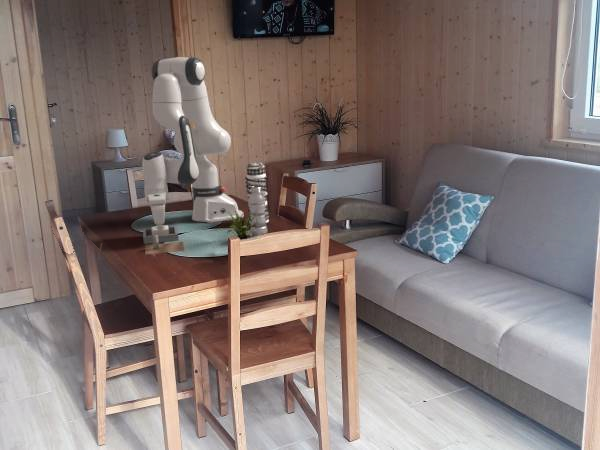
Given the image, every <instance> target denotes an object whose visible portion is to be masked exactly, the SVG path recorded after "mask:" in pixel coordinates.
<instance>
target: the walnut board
mask: <svg viewBox="0 0 600 450" xmlns="http://www.w3.org/2000/svg"><path fill="white" fill-rule="evenodd" d="M152 238H153V243H152V244H144V247H145V249H144V250H145V251H144V252H145V253H144V255H146V256H148V255H154V254H156V255H157V254H164V253H165V254H166V253H173V252H182V251H185V245H184V241H178V242H177V241H174V242H164V243H160V242H158V235H153V236H152Z"/></svg>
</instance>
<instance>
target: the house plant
mask: <svg viewBox="0 0 600 450" xmlns="http://www.w3.org/2000/svg"><path fill="white" fill-rule="evenodd" d="M227 213H228V212H227ZM235 213H236V218H237V219H234V218H233V216H232V215H231V214H230V213H228V214H229V215H230V216H231V217H232V220H231V219H230V218H229V219H230V220H227V219H226V220H225V221H228V222H229V223H230V224H231V225H230V226H229V228H231V229H228V228H226V227H225V228H222V229H225V230H227V231H226V234H229V233H231V232H232V233H233V231H234V232H235V233H234V236H237V237H239V238H240V239H241V240H242V239H247V238H251V237H252V235H251V233H250V232H251V231H252V230H254V229H256V228H254V229H252V230H251V231H250V228H252V227H254V226H251V223H250V222H251V221H252V220H253V219H254V217H255V216H257V215H258V214H257V215H255V216H254V217H253V218H252V219H251V221H250V220H249V217H250V214H249V213H248V214H249V216H248V217H247V219H245V220H244V222H243V217H242V216H241V217H240V216H239V215H238V214H237V212H236V211H235ZM242 213H243V214H244V211H242ZM243 214H242V215H243ZM227 218H228V217H227ZM249 221H250V222H249ZM249 225H250V226H249ZM252 238H253V237H252Z"/></svg>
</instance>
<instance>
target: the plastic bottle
mask: <svg viewBox="0 0 600 450" xmlns="http://www.w3.org/2000/svg"><path fill="white" fill-rule="evenodd" d="M251 192H252V194H251V196H250V197H249V196H248V200H247V202H248V203H247V204H248V206H249V208H250V212H249V213H250V214H251V219H252V218H253V217H254V216H255V215H257V214H258V215H257V216H255V217H254V219H253V220H252V221H251V223H250V226H254V227H252V228H250V230H249V233H250V235H252V238H253V237H254V236H258V235H262V234H266V233H267V234H268V227H267V223H266V222H265V198H264V197H263V195H262V194H261V187H260V186H253V187H251ZM249 208H248V209H249ZM254 228H256V229H254ZM252 229H254V230H252ZM251 230H252V231H251ZM250 231H251V232H250Z"/></svg>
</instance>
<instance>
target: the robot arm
mask: <svg viewBox="0 0 600 450" xmlns="http://www.w3.org/2000/svg"><path fill="white" fill-rule="evenodd" d="M205 66H206V65H205V64H204V63H203V61H202V60H201V59H200V58H198V57H192V56H190V57H185V56H184V57H183V56H176V57H170V58H161V59H157V60H156V61H154V63H153V65H152V67H151V71H150V73H151V77H152V80H153V81H154V82H153V87H152V114H153V118H154V119H155V121H156V122H157V123H158V124H160V125H161V126H162V127H164V128H167V129H169V130H170V131H172V132H174V133H175V134H174V138H173V144H174V148H175V149H176V151H177V152H178V153H180V157H181V158H172V157H171V158H169V157H167V156H165V155H163V153H162V152H159V151H155V152H148V153H147V154H145V155H143V158H142V165H141V166H142V169H141V170H142V178H143V181H144V187H143V189H144V199H145V202H147V204H148V205H149V206H150V209H151V214H152V220H153V222H154V224H155V225H156V226H157V228H158V233H163V226H164V224H165V222H166V221H165V220H166V216H165V215H166V213H165V212H166V204H167V201H168V200H169V196H170V195H169V188H168V187H169V186H168V183H170V184H181V185H186V186H191V185H192V187H191V193H192V199H193V211H192V216H191V220H192V221H194V222H203V223H209V224H210V223H217V222H225V221H228V220H229V221H231V220H232V221H233V219H232V217H231V216H230V215H229V214H228V213H230V214H231V215H232V216H233V218H234V220H237V218H236V213H235V211H236V212H237V214H238V215H239V216H240V217H241V216H242V218H243V217H244V215H245V213H244V212H243V211H242V210H240V209H239V207H238V203H237V201H235V199H233V198H232V197H230V196H229V195H227V194H226V193H225V192H226V187H224V186H222V185H220V184H219V173H218V168H217V166H216V165H215V164H214V163H212V162H211V161H210V160H209V159H208V158H207V156H206V155H208V156H209V155H211V156H213V155H215V156H216V155H220V154H226V153H228V151H229V150H230V148H231V144H232V138H231V136H230V133H229V132H228V131H227V130H225V129H224V128H222V127H221V126H220V125H219V124H218V122H217V121H216V119H215V118H214V115H213V114H212V110H211V105H210V102H209V101H210V100H209V95H208V90H207V86H206V83H205V81H204V79H205V77H206V67H205ZM191 123H192V124H193V125H194V126H195V128H192V127H191ZM227 212H228V213H227ZM242 212H243V213H242ZM242 214H243V215H242ZM227 217H228V218H227ZM229 218H230V219H231V220H230V219H229ZM226 219H227V220H226Z"/></svg>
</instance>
